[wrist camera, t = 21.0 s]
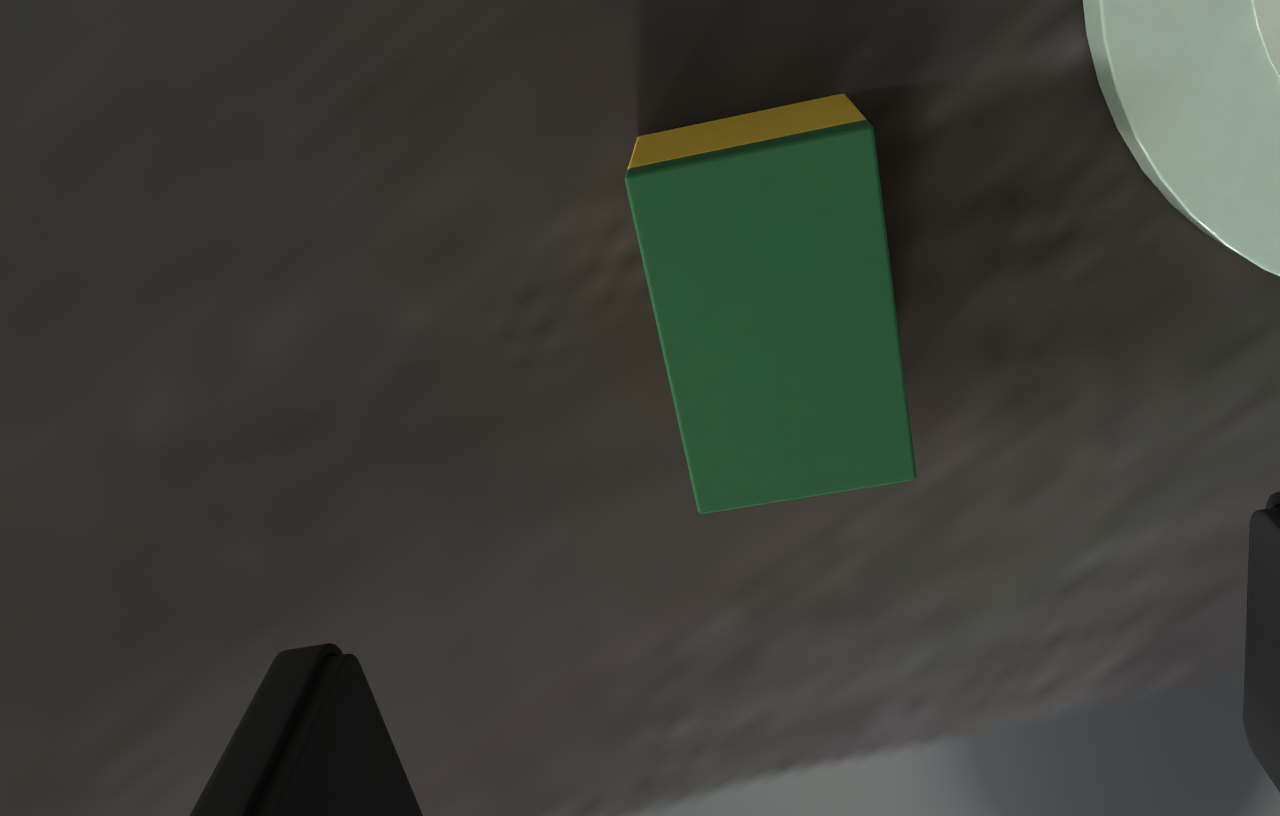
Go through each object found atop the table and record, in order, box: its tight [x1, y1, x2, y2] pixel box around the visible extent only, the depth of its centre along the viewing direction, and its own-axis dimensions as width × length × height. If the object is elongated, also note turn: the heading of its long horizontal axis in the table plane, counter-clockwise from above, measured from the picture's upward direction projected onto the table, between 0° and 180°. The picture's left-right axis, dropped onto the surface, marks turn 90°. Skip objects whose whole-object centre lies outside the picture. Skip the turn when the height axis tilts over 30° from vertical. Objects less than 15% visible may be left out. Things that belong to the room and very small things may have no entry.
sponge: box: [625, 94, 916, 514], centre depth 24 cm, size 8×5×4 cm, turn 12°
